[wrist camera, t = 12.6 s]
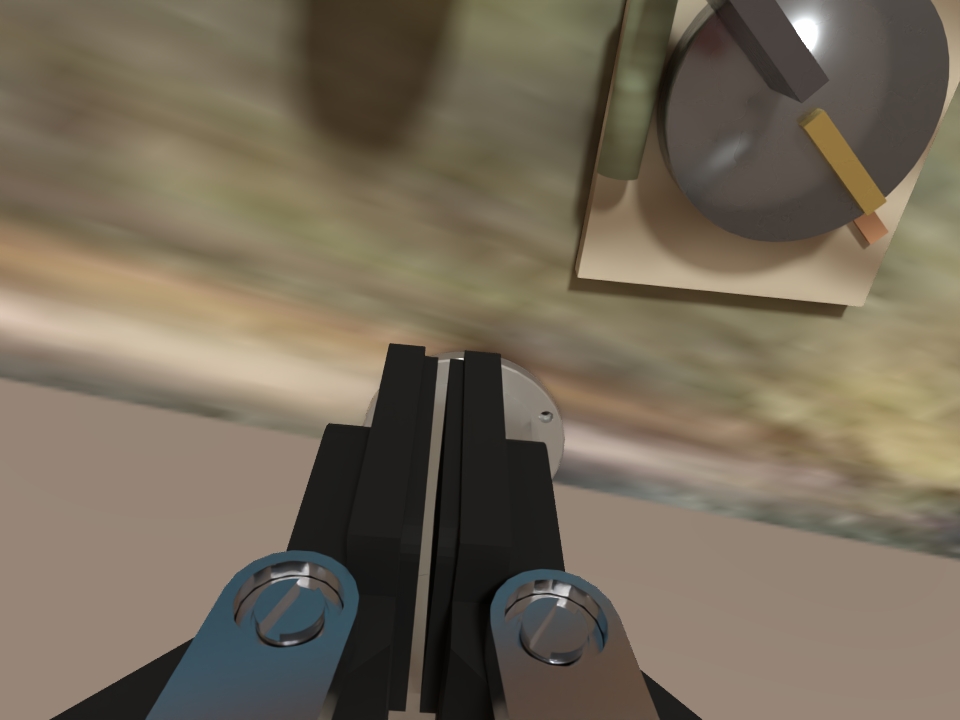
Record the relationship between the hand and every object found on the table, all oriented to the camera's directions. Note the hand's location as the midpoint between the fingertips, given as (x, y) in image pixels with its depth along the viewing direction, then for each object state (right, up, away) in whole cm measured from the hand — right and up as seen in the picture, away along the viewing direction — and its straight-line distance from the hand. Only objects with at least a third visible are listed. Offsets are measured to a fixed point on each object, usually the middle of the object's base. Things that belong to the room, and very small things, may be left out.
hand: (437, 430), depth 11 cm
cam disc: (+14, +13, +22) cm, 29 cm away
